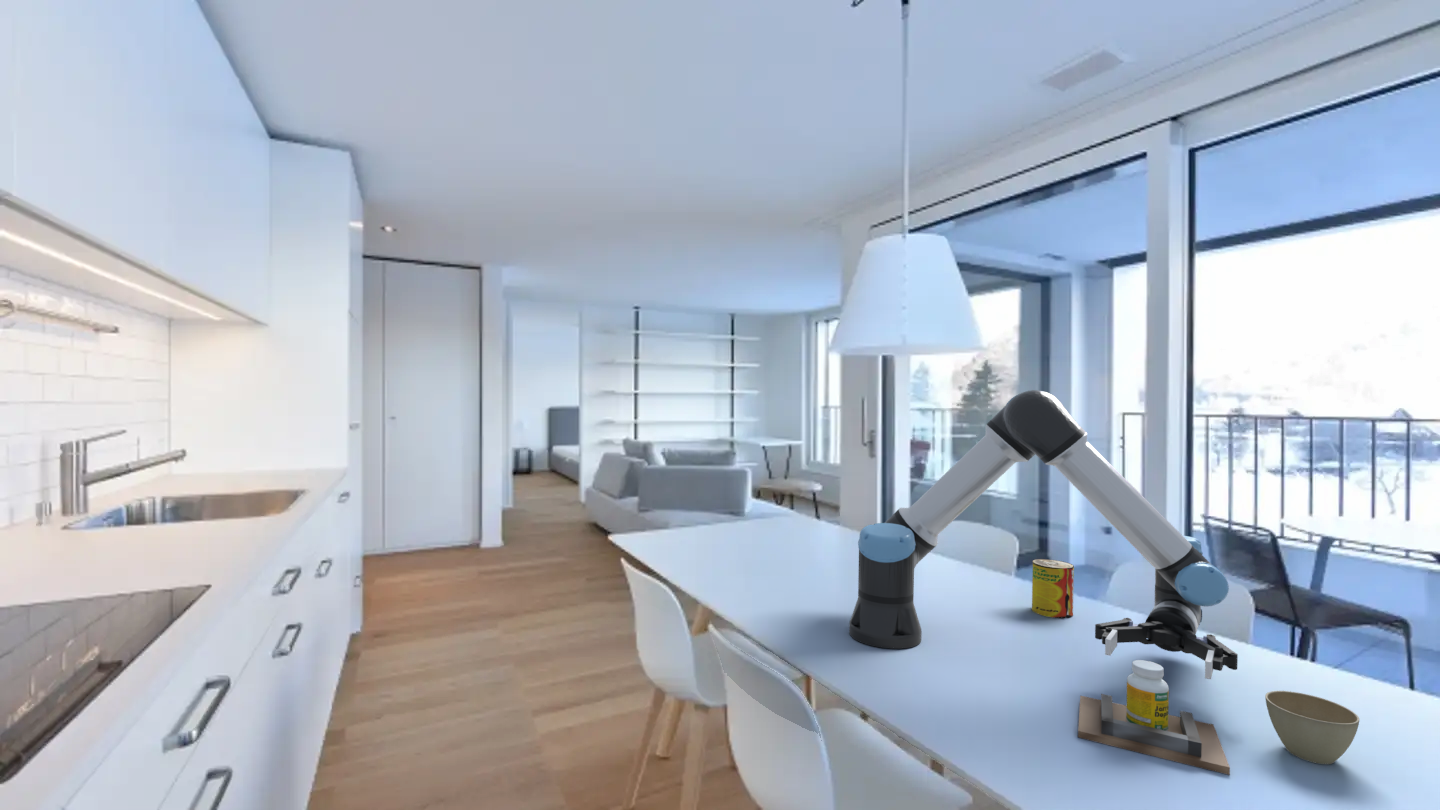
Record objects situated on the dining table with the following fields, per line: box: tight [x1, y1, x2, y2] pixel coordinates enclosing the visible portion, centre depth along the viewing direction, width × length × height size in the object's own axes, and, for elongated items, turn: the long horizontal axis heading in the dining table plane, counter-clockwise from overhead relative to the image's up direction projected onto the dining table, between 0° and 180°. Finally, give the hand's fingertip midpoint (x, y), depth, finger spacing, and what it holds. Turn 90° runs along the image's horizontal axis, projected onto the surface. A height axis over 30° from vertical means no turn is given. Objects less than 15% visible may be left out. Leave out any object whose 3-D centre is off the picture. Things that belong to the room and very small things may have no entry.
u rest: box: [1077, 693, 1231, 776], centre depth 97 cm, size 18×14×3 cm
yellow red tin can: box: [1031, 558, 1075, 619], centre depth 156 cm, size 9×9×12 cm
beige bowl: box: [1265, 690, 1360, 765], centre depth 92 cm, size 10×10×7 cm
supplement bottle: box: [1126, 659, 1170, 731], centre depth 97 cm, size 5×5×10 cm
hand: (1155, 658), depth 103 cm, fingers open, 13 cm apart
